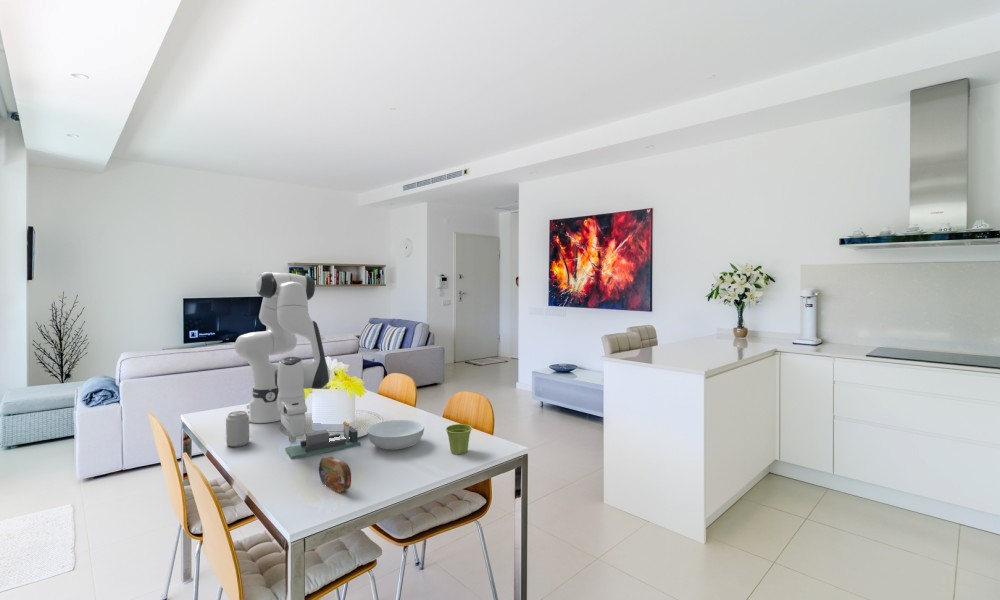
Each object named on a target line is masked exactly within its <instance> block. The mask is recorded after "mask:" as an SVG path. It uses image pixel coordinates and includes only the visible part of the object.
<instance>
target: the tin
mask: <svg viewBox="0 0 1000 600" xmlns="http://www.w3.org/2000/svg"><path fill="white" fill-rule="evenodd" d="M351 470H352V469H351V467H350V466H349V465H348V463H347V462H345V461H343V460H341V459H339V458H338V457H335V456H332V455H331V456H326V457H325V456H324V457H323V458H321V459H320V461H319V466H318V475H319V478H320V481H321V482H322V484H323V485H324V486H325V485H326V487H327V488H329V489H330V488H331V490H332V491H334V492H335V493H338V494H339V493H342V492H345V491H347V490H349V488H350V487H351V485H352V471H351Z"/></svg>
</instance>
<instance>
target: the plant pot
mask: <svg viewBox="0 0 1000 600" xmlns="http://www.w3.org/2000/svg"><path fill="white" fill-rule="evenodd" d="M472 430H473V427H472V426H471V425H470V424H469V425H468V424H464V423H463V424H461V423H459V424H458V423H456V424H452V425H448V426H447V427H445V431H446V433H447V436H448V442H449V443H448V444H449V449H450V453H451V454H454V455H460V454H462V455H463V454H466V453H468V449H469V442H470V435H471V432H472Z"/></svg>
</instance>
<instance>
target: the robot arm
mask: <svg viewBox="0 0 1000 600" xmlns="http://www.w3.org/2000/svg"><path fill="white" fill-rule="evenodd" d="M255 287H256V292H257V294H258V295H259V296H261V297H262V301H261V306H260V309H259V314H258V319H259V321H260V323H261V324H262V325H264V326H266V327H267V328H268V329H267V330H263V331H253V332H248V333H244V334H241V335H239V336H238V337H237V338H236V340H235V343H234V349H235V353H237V355H238V356H239V357H240V358H242V359H244V360H245V361H246V362H247V363H248V364H249V366H250V368H251V370H252V379H253V387H252V391H251V392H252V393H251V394H252V398H251V400H250V401H249V403H247V404H246V410H247V411H246V412H247V414H248V415H249V423H254V424H264V423H265V424H266V423H275V422H278V421H280V424H281V425H282V426H283V427H284V428H285V429H286V431H287V436H288V442H289V443H290V444H291V445H292V444H296V443H297V437H298V438H299V437H301V436H302V437H303V436H304V435H305V430H306V413H307V412H308V407H307V404H306V393H305V389H306V390H307V389H315V390H316V389H317V390H318V389H320V390H321V389H323V388H324V387H325V386H326V385H328V384H329V382H330V378H331V373H330V369H329V365H328V363H327V361H326V356H325V350H324V346H323V340H322V337H321V336H322V335H321V333H320V332H321V331H320V328H319V326H318V324H317V322H316V321H314V320H313V319H312V318H311V316H310V313H309V302H308V301H309V300H311V299H312V298H313V297H314V295H315V292H316V283H315V280H314V279H313V277H311V276H308V275H306V274H305V275H302V274H297V273H290V272H272V271H264V272H263V271H262V272H261V273H260V274H259V275H258V278H257V280H256V283H255ZM296 335H298V336H301V337H303V338H305V339H307V340H308V341H309V342H310V345H311V350H312V354H313V361H311V362H303V359H302V358H301V357H297V356H287V357H284V358H281V359H280V360H279V361H278V365H277V364H276V363H272V362H271V361H270V356H278V355H283V354H286V353H289V352H292V351H294V350H295V348H296V346H297V343H298V340H297V338H298V337H296Z"/></svg>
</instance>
